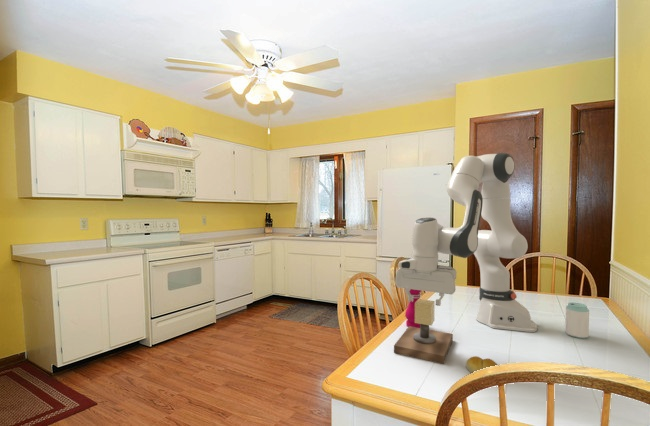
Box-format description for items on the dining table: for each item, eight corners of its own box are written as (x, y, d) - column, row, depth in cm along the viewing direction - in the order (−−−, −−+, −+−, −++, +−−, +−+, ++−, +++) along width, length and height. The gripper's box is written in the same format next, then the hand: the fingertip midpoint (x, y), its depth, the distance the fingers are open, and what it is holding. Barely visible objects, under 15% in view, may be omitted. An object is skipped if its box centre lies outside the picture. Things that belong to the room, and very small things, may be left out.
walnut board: (452, 340, 119) (452, 314, 119) (443, 363, 102) (443, 333, 102) (409, 332, 127) (409, 307, 127) (393, 352, 110) (394, 324, 109)
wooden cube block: (434, 320, 115) (434, 301, 115) (431, 325, 110) (431, 305, 110) (418, 318, 118) (418, 298, 118) (414, 322, 113) (414, 302, 113)
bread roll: (468, 362, 103) (468, 350, 103) (500, 370, 98) (500, 357, 98) (463, 373, 96) (463, 360, 96) (497, 382, 91) (498, 368, 91)
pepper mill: (424, 329, 130) (424, 280, 129) (405, 328, 131) (405, 279, 131) (422, 323, 137) (422, 276, 136) (404, 322, 138) (404, 275, 138)
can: (568, 337, 122) (569, 306, 122) (562, 331, 129) (563, 300, 128) (591, 340, 119) (592, 308, 119) (584, 333, 126) (585, 302, 126)
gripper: (457, 265, 112) (456, 305, 112) (399, 260, 121) (398, 296, 122) (455, 268, 106) (454, 310, 106) (394, 262, 116) (393, 301, 116)
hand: (424, 303), depth 114 cm, fingers open, 8 cm apart
